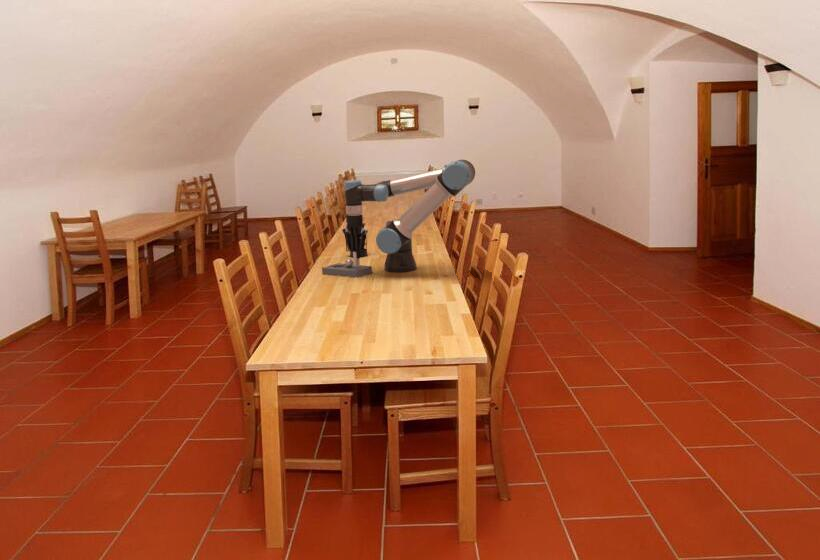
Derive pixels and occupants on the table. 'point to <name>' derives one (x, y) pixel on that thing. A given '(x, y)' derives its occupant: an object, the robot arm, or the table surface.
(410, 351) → the table surface
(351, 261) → the ball
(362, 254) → the french press
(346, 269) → the plate
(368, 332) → the table surface
